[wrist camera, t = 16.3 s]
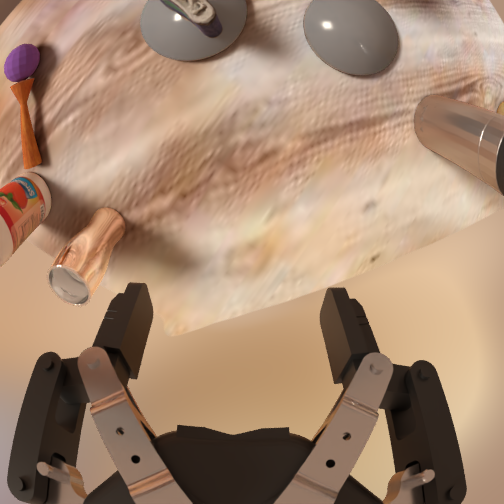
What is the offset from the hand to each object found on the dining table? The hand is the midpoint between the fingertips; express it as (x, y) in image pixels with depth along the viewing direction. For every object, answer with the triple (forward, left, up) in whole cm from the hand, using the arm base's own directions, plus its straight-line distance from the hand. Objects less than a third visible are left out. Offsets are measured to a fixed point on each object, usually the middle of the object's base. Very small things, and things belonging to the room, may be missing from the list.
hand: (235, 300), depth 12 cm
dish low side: (+6, -18, -27) cm, 34 cm away
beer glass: (+20, +12, -28) cm, 36 cm away
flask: (+6, -18, -26) cm, 33 cm away
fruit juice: (+35, +6, -28) cm, 45 cm away
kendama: (+32, -10, -28) cm, 44 cm away
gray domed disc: (-14, -18, -27) cm, 36 cm away
